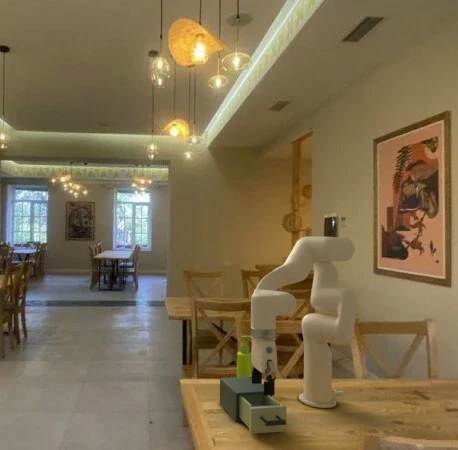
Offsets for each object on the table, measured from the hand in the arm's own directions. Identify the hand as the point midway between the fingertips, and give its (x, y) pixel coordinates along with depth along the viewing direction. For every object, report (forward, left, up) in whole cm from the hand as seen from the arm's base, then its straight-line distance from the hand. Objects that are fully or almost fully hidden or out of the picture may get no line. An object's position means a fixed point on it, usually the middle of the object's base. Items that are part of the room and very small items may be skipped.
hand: (262, 388), depth 128 cm
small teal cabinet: (0, -13, -12) cm, 18 cm away
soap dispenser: (-10, -35, -12) cm, 38 cm away
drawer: (0, 0, -11) cm, 11 cm away
